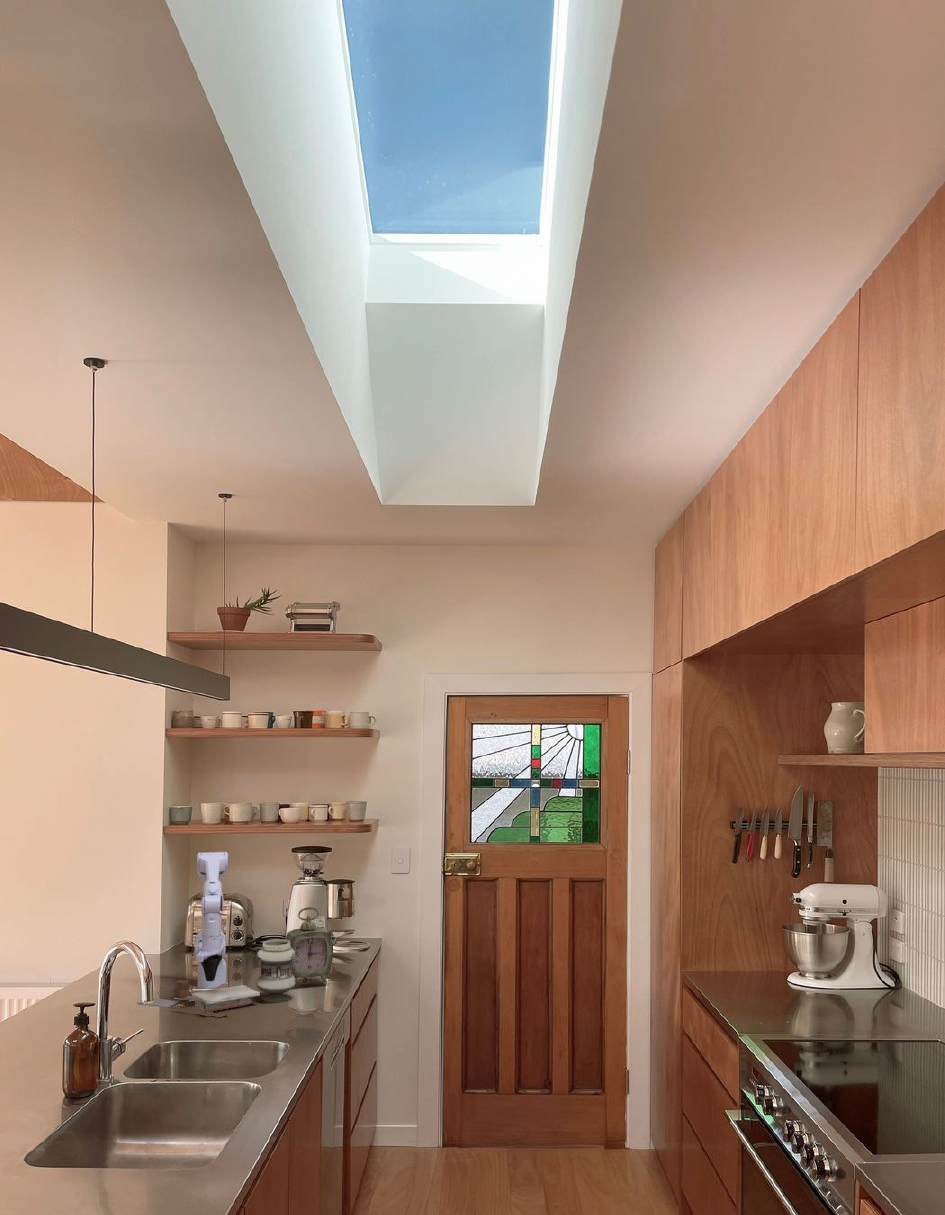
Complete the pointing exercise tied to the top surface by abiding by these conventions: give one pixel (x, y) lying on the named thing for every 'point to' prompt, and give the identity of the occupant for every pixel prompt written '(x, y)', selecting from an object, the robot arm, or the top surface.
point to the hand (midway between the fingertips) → (210, 980)
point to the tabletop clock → (310, 949)
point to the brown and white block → (182, 990)
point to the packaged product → (223, 998)
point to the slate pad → (160, 1002)
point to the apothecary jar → (276, 970)
